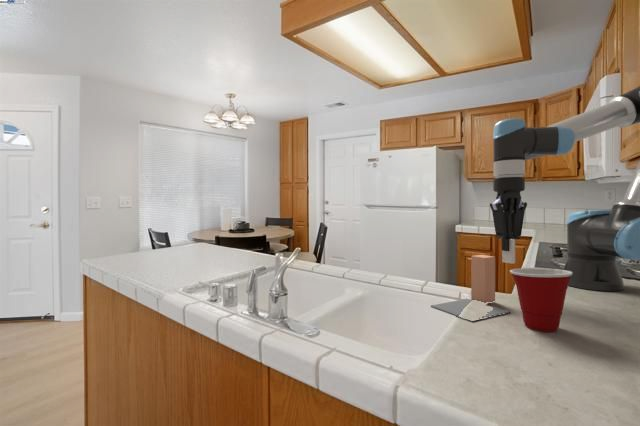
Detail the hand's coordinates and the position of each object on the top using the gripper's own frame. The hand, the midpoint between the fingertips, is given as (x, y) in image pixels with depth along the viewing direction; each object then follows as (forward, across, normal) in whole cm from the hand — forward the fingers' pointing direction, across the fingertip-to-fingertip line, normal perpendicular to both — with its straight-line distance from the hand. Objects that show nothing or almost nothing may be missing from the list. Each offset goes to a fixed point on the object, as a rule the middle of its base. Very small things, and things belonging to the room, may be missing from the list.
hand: (508, 262), depth 90 cm
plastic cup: (+10, +16, +17) cm, 25 cm away
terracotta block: (+10, +10, 0) cm, 14 cm away
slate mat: (+10, +20, +3) cm, 22 cm away
